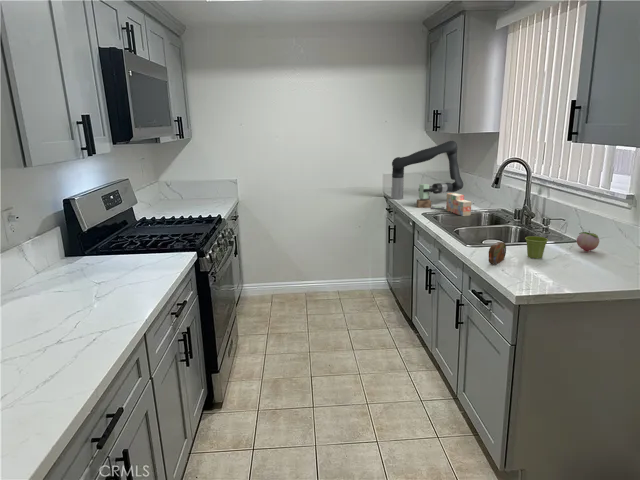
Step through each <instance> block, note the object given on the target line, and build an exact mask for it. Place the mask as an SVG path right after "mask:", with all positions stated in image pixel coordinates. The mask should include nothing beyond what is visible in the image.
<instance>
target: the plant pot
mask: <svg viewBox="0 0 640 480" xmlns="http://www.w3.org/2000/svg"><path fill="white" fill-rule="evenodd" d="M524 239H525V243H526V251H527V252H526V253H527V257H528V258H530V259H538V260H539V259H540V260H541V259H543V256H544V252H545V248H546V245H547V243H548V241H549V239H548V238H546V237H543V236H536V235H535V236H532V235H531V236H526V237H525V238H524Z"/></svg>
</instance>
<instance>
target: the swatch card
mask: <svg viewBox="0 0 640 480" xmlns="http://www.w3.org/2000/svg"><path fill="white" fill-rule="evenodd" d="M430 209H431V210H445V209H446V207H445V206H435V205H433V206H432V205H431V208H430Z"/></svg>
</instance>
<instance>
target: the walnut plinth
mask: <svg viewBox="0 0 640 480" xmlns="http://www.w3.org/2000/svg"><path fill="white" fill-rule="evenodd" d="M416 207H417V208H418V209H431V207H432V200H431V199H430V200H429V199H420V198H417V199H416Z"/></svg>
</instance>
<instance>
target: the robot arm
mask: <svg viewBox="0 0 640 480" xmlns="http://www.w3.org/2000/svg"><path fill="white" fill-rule="evenodd" d="M445 153H446V156H447V159H448V167H449V169H448V171H449V177H450V179H451V180H452V181H454V182H438V183H433V184H432V185H429V189H424V190H423V192H429V193H433V194H434V195H436V194H442V193H443V194H444V193H456V192H458V191H460V190H462V189H463V188H464V181H463V179H462V177H461V175H460V173H461V172H460V168H459V167H460V166H459V164H458V143H457V142H456V141H454V140H449V141H446V142H443V143H441V144H438V145H434V146H432V147H429V148H425V149H422V150H418V151H415V152H413V153H411V154H409V155H406V156H402V157H400V156H398V157H395V158H394V159H393V160H392V162H391V166H392V171H391V172H392V174H391V180H392V181H391V193H390V194H391V196H390V197H391V198H390V199H392V200H402V199H404V180H405V179H404V177H405V175H404V174H405V167H408V166H410V165H416V164H421V163H424V162H427V161H431V160H433V159H434V158H436V157H438V155H442V154H445Z"/></svg>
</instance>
